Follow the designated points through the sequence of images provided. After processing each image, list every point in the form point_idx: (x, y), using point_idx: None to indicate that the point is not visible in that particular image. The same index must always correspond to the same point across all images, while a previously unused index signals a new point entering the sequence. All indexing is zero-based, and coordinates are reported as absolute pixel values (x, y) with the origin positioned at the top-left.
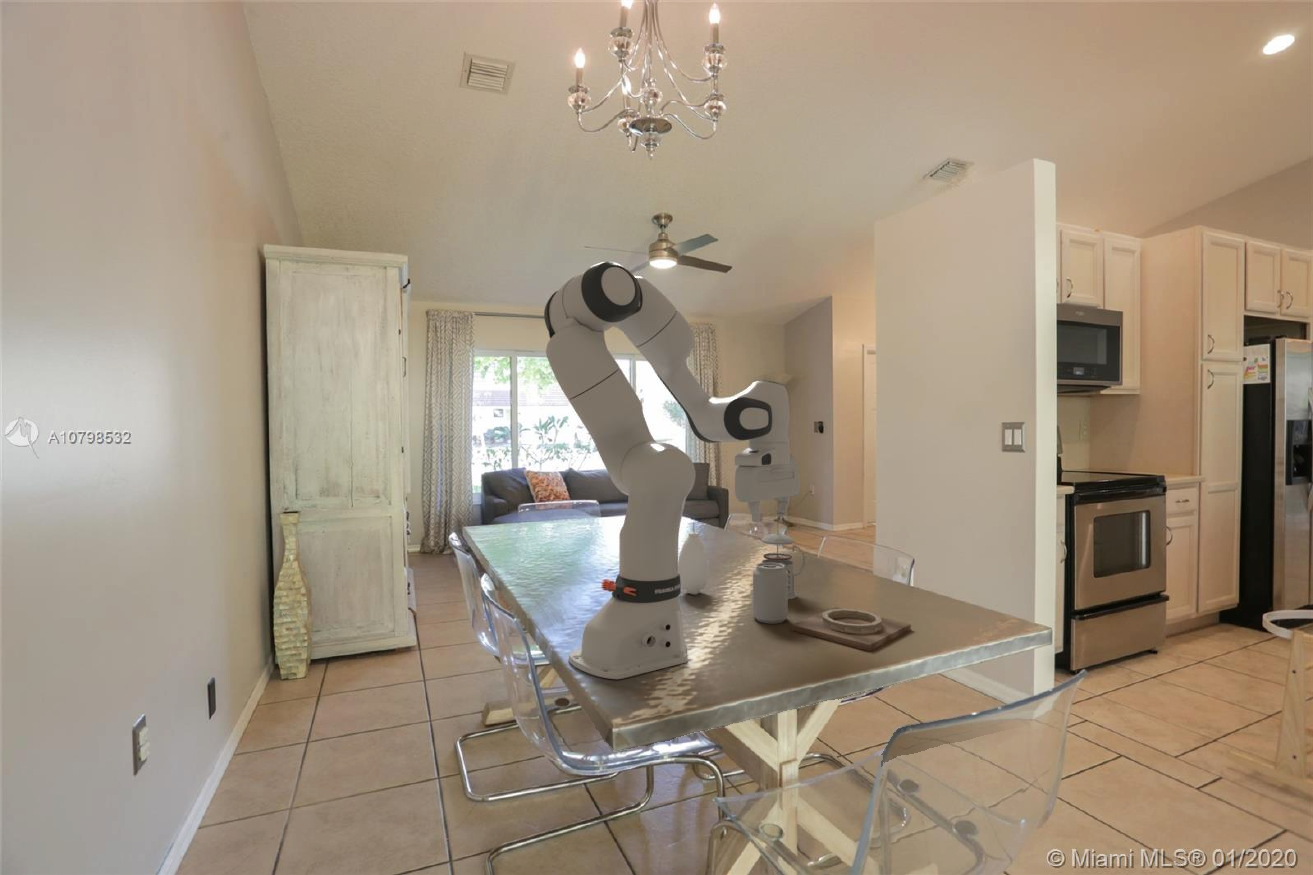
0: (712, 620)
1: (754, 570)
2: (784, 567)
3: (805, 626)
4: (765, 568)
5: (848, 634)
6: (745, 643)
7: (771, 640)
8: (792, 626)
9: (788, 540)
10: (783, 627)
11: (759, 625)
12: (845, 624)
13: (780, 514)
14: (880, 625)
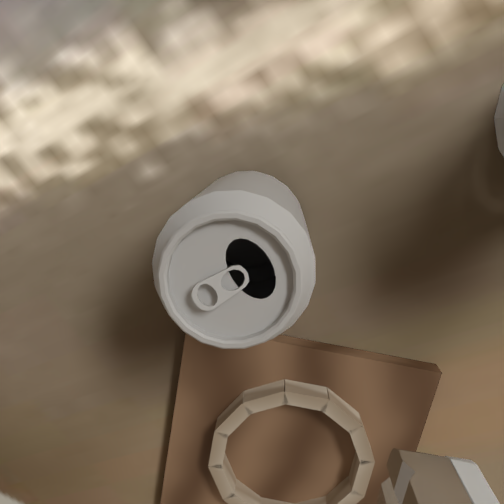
0: (122, 69)
1: (191, 209)
2: (243, 348)
3: (194, 360)
4: (159, 287)
5: (199, 464)
6: (14, 258)
7: (81, 303)
8: None
9: None
10: None
11: None
12: (211, 468)
13: (393, 501)
14: None
